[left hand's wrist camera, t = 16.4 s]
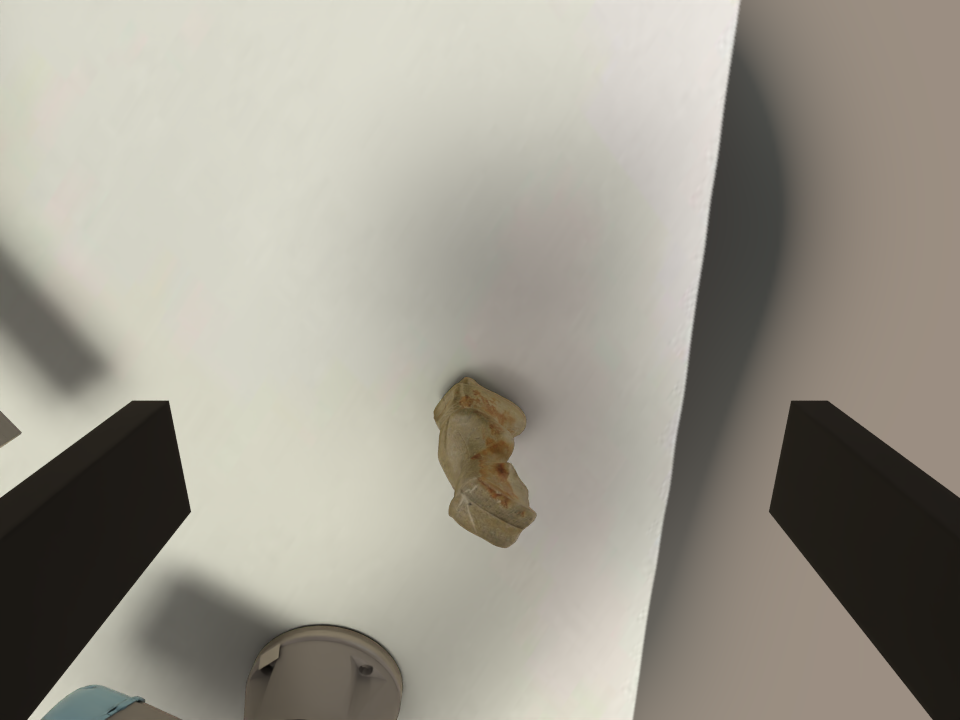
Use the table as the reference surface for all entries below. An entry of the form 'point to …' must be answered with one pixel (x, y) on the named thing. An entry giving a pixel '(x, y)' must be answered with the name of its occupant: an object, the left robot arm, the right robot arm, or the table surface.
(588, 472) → the table surface
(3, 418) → the box
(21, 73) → the table surface
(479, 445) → the sculpture
